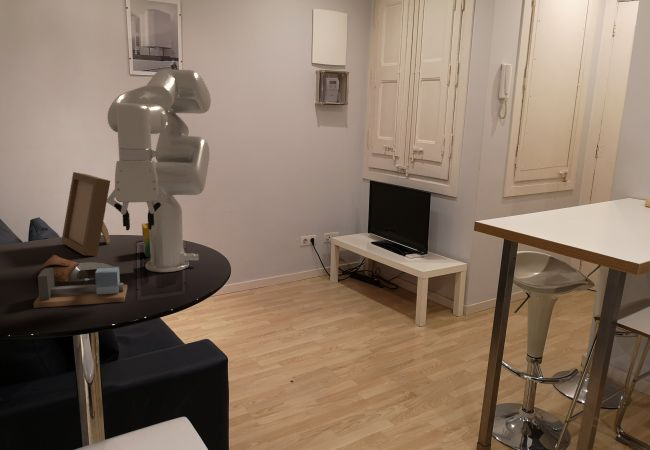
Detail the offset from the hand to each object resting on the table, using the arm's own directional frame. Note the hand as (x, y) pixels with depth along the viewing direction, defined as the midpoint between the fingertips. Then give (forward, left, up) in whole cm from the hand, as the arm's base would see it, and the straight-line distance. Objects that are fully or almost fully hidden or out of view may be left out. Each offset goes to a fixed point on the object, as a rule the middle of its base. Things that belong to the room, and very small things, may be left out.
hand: (139, 228), depth 132 cm
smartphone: (+11, -21, -18) cm, 30 cm away
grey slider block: (+8, 0, -16) cm, 18 cm away
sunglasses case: (+24, -24, -18) cm, 38 cm away
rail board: (+14, 0, -17) cm, 22 cm away
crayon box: (0, -40, -18) cm, 44 cm away
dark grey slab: (+22, 0, -16) cm, 27 cm away
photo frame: (+18, -52, -18) cm, 58 cm away
